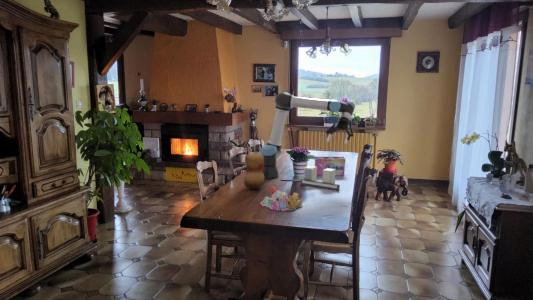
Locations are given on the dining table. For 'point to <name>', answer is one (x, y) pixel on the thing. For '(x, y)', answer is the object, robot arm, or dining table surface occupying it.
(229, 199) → the dining table surface
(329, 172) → the tea carton
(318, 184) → the price rail
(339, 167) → the gum box
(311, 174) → the oat carton
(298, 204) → the pastel sphere sculpture
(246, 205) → the dining table surface
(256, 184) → the butternut squash
